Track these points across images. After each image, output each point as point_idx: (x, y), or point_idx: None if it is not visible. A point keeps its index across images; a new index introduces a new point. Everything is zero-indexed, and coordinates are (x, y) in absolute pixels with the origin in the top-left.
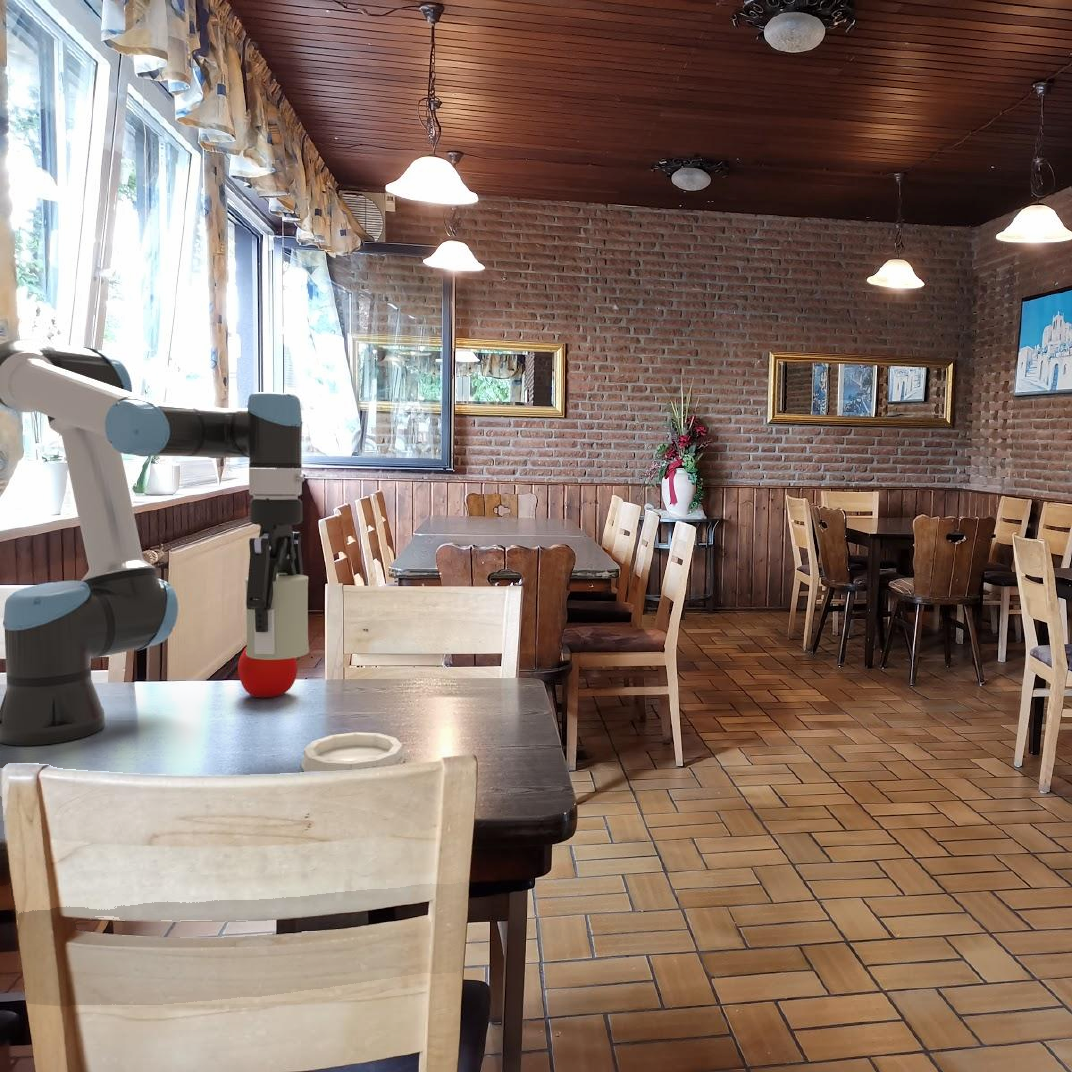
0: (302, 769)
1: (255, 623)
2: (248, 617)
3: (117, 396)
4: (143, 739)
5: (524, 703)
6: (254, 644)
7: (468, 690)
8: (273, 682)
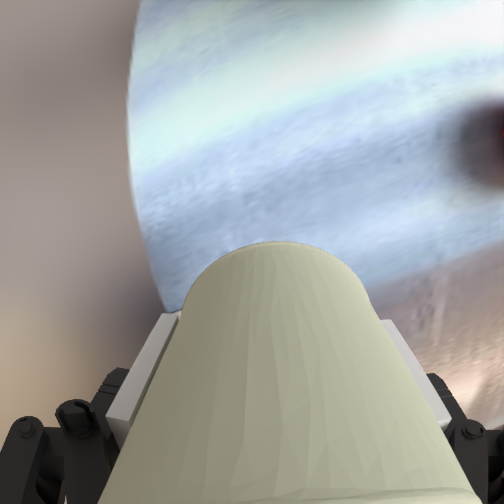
0: (171, 313)
1: (99, 388)
2: (177, 345)
3: None
4: (282, 7)
5: None
6: (153, 328)
7: (493, 398)
8: None
